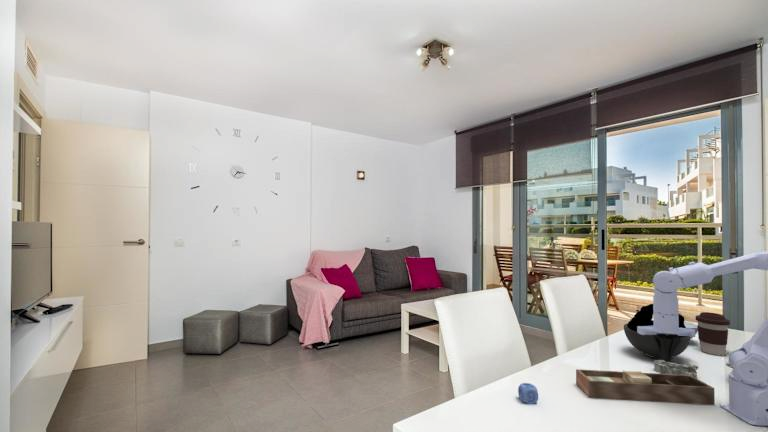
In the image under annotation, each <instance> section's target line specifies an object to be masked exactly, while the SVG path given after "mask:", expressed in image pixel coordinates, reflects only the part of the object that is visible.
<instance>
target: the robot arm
mask: <svg viewBox="0 0 768 432" xmlns="http://www.w3.org/2000/svg"><path fill="white" fill-rule="evenodd" d="M754 269H756V270H761V271H768V250H767V251H760V252H752V253H749V254H745V255H741V256H737V257H734V258H730V259H726V260H723V261H719V262H716V263H715V262H714V263H711V264H706V263H705V262H700V261H699V262H695V261H690V262H688V264H687V265H684V266H680V267H675V268H674V267H669V268H668V270H661V271H658V272H656V273H655V274H654V276H653V278H652V282H653V283H652V284H653V286H654V289H653V294H654V295H653V296H652V299H653V301H652V302H653V303H652V304H653V318H652V320H653V326H637V333H639V334H641V335H645V334H650V335H651V336H652V337H653V339H654V341H655V342H656V344H657V347H658V349H659V352H660V356H661V358H660V360H664V361H666V363H667V362H669V363H672V359H673V357H672V356H673V353H674V351H675V349H676V347H677V346H678V345H679V344H680V342H681V338H679V337H678V336H690V337H693V338H696V335H695V330H693V329H690V328H679V315H678V313H679V298H678V289H679V288H682V289H686V288H690V287H695V286H700V285H705V284H710V283H712V282H713V280H714V278H715V277H717V276H722V275H726V274H732V273H733V274H734V273H737V272H742V271H747V270H754ZM728 362H729V364H730V366H731V367H732V370H731V371H730V372H729V373H728V403H729V404H725V403H724V404H722V403H720V404H719V407H721V408H722V409H724V410H725V411H727V412H729V413H731V414H732V415H734V416H736V417H738V418H739V419H741V420H743V421H745V422H746V423H748V424H750V425H752V426H763V427H764V426H765V427H768V315H767V316H766V317H765V318H764V320H763V322H762V323H761V324H760V325H759V327H758V328H757V330H756V331H755V332H754V334H752V336H751V338H750V339H749V340H748V341H746V342H744V343H743V344H742V345H741V347H740V348H738V349H735V350H732V351H731V352H730V353H729V354H728Z"/></svg>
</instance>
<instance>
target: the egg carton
mask: <svg viewBox="0 0 768 432" xmlns="http://www.w3.org/2000/svg"><path fill="white" fill-rule="evenodd" d="M653 363H654V368H653V369H654V371H656V372H657V373H658V374H677V375H691V376H693V377H694V378H696V379H698V372H697V371H698V370H699V366H698V365H695V364H694V365H693V364H686V365H685V364H677V363H675V362H666V361H664V360H662V359H658V360H656V359H655V360H653Z"/></svg>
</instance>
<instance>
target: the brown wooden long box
mask: <svg viewBox="0 0 768 432" xmlns="http://www.w3.org/2000/svg"><path fill="white" fill-rule="evenodd" d="M643 373H644V374H645V375H647V376H648V377H650V378H651V379H652V384H648V383H629V382H626V381H625V380H623V371H619V370H618V371H616V370H615V371H614V370H595V369H578V368H577V369H575V376H576V378H575V380H576V381H575V385H576V386H577V387H578V388H579V389H580V390H582V392H583V393H585V395H586V396H588V398H589V399H607V400H608V399H609V400H621V401H624V400H625V401H639V402H655V403H656V402H658V403H660V402H661V403H676V404H689V405H690V404H692V405H706V406H707V405H709V406H710V405H711V406H714V405H715V388H714V387H713V386H711V385H709V384H707V383H706V382H704V381H702V380H700V379H699V378H697V379H696V378H694V377H693V376H691V375H677V374H666V373H658V372H657V373H655V372H653V373H652V372H643Z"/></svg>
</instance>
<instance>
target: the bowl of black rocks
mask: <svg viewBox="0 0 768 432" xmlns="http://www.w3.org/2000/svg"><path fill="white" fill-rule="evenodd" d="M678 315H679V328H686V327H685V325H684V321H685V316H684V315H682V314H681V313H679V312H678ZM637 326H653V303H650V304H647V305H643V306H642V307H640V310H638V311H637V312H636V313H635V314H634V316H632V318H631V319H630V320H629V321H628V322H627V323H625V324H623V331H624V334H625V336H626V339H627V340H628V341H629V344H631V345H632V346H633V347H634V348H635V349H636V350H637V351H639V352H641V353H642V354H644V355H646V356H648V357H651V358H656V359H661V356H660V352H659V349H658V347H657V344H656V342H655V341H654V339H653V337H652V336H651V335H650V334H645V335H641V334H639V333H637ZM678 337H679V338H681V342H680V344H679V345H678V346H677V347H676V349H675V351H674V353H673V356H672V358H675V357H677V356H679V355H681V354H682V353H684V352H685V351H686V349H688V347H689V345H690V342H691V339H692V338H691V337H690V336H678Z"/></svg>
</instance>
